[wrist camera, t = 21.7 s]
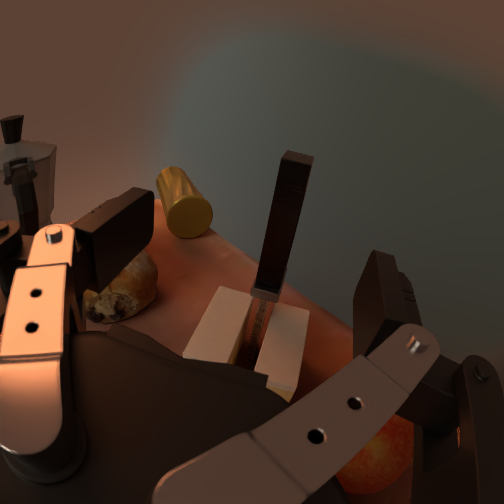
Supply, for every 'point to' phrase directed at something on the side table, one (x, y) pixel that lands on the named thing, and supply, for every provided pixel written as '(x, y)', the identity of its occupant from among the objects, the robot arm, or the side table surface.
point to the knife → (279, 236)
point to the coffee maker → (26, 178)
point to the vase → (183, 204)
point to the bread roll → (124, 292)
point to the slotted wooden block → (233, 333)
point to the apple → (380, 459)
